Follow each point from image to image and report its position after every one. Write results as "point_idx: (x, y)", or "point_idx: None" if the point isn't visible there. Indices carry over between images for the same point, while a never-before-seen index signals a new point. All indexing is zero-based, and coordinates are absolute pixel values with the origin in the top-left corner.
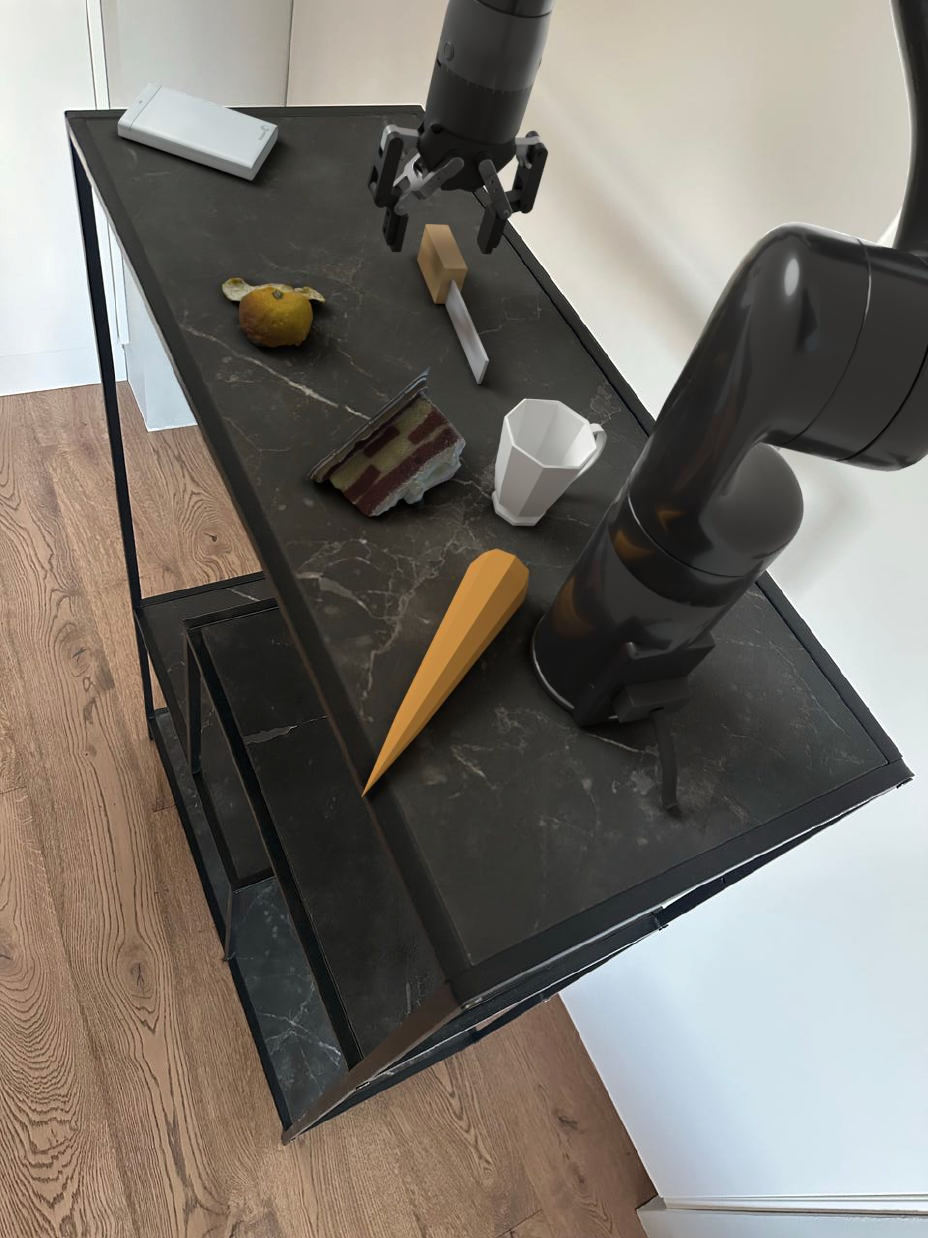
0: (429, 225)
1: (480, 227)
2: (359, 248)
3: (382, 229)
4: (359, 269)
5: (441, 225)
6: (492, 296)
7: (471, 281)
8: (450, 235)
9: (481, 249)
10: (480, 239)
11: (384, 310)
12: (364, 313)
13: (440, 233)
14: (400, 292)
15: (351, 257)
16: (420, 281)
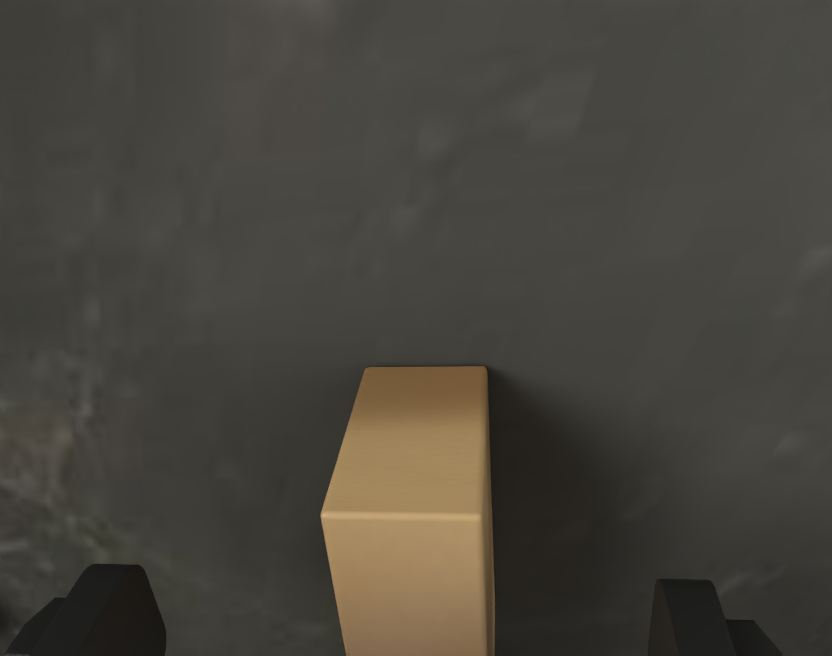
0: (344, 526)
1: (678, 653)
2: (75, 296)
3: (24, 630)
4: (86, 427)
5: (427, 528)
6: (685, 567)
7: (617, 488)
8: (464, 602)
9: (652, 640)
10: (662, 638)
11: (190, 614)
12: None
13: (402, 588)
14: (259, 541)
15: (43, 358)
16: None
